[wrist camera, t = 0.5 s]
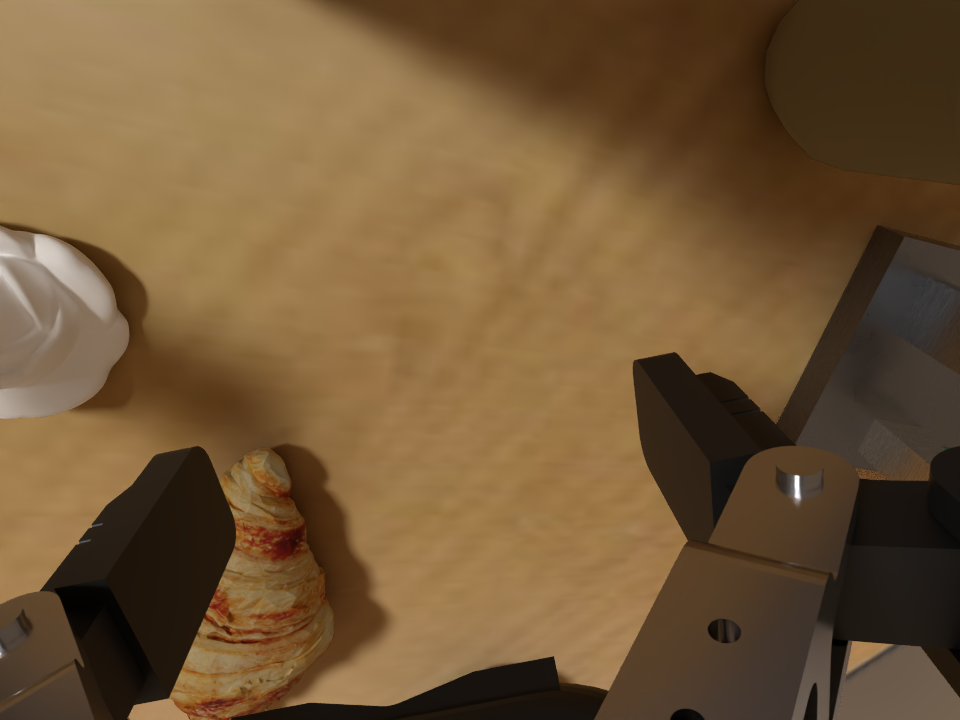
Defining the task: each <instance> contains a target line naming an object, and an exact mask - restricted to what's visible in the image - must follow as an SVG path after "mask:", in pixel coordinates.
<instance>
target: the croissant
mask: <svg viewBox="0 0 960 720" xmlns="http://www.w3.org/2000/svg"><path fill="white" fill-rule="evenodd" d="M219 482H220V485H221V487H222V489H223V492H224V494H225V497H226V499H227V501H228V504H229V506H230V509H231V511H232V514H233V516H234V520H235V525H236V543H235V547H234V550H233V552H232V555H231V557H230V559H229V562H228V564H227V566H226V569H225V571H224V573H223V575H222V578H221V580H220V582H219V585H218V587H217V589H216V592H215V594H214V596H213V598H212V601H211V603H210V605H209V608H208V610H207V612H206V614H205V617H204V619H203V621H202V624H201V626H200V628H199V631H198V633H197V635H196V637H195V640H194V642H193V644H192V647H191V649H190V651H189V654H188V656H187V658H186V660H185V663H184V665H183V667H182V670H181V672H180V674H179V676H178V679H177V681H176V683H175V686H174V688H173V690H172V693H171V695H170V697H169V699H172V700H173V701H174V703H175V705H176V706H177V707H178V708H179V709H180V710H181V711H183V712H185V713H186V714H187V715H188V717H189V719H190V720H231V718H233V717H238V716H243V715H248V714H254V713H259V712H263V711H266V710H268V706H269V705H270V704H271V703H272V702H276V701H279V699H280V697H283V696H284V695H285V694H286V693H287V692H288V691H289V690H290V689H291V688H292V686H293V685H295V684H296V683H298V681H299V680H300V678H301V676H302V674H303V672H304V671H305V670H306V669H308V668H309V667H310V666H311V665H312V664H313V663H314V662H315V661H316V660H317V659H318V658H319V657H320V656H321V655H322V653H323V652H324V651H325V650H326V649H327V648H328V647H329V645H330V643H331V641H332V638H333V636H334V611H333V610H332V608H331V607H330V604H329V602H328V600H327V598H326V596H325V585H326V582H325V573H324V571H323V569H322V567H318V565H317V563H316V561H315V558H314V554H313V553H312V552H311V551H310V550H309V545H308V544H306V534H307V529H306V525H305V519H304V518H303V517H302V516H301V514H300V513H299V511H298V510H297V508H296V506H295V502H294V501H293V500H291V499H290V497H289V495H290V493H291V491H290V490H291V479H290V477H289V475H288V471H287V468H286V466H285V463H284V461H283V459H282V458H281V457H280V456H279V455H277V454H276V453H275V452H274V451H273V450H271V449H269V448H260V449H256V450H254V451H252V452H250V453H248V454H246V455H244V459H242V460H240V461H238V462H236V463H235V464H234V465H233V466H232V467H231V468H230V469H229V470H228V471H226V473H225V474H224V475H223V477H222V478H221V479H220V480H219Z"/></svg>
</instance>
